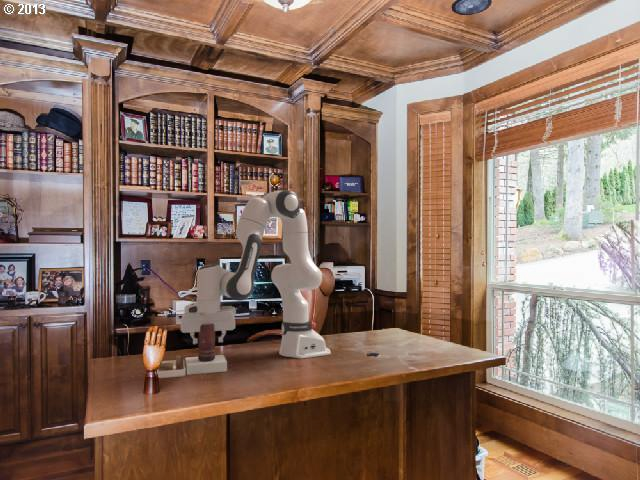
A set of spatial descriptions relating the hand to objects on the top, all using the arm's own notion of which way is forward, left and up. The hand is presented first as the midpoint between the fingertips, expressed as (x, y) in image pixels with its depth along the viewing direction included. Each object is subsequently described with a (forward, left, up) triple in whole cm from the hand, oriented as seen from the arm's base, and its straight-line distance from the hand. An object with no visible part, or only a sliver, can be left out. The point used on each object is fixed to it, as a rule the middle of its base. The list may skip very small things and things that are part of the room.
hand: (208, 342), depth 169 cm
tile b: (+15, 0, -7) cm, 17 cm away
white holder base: (+1, 0, -10) cm, 10 cm away
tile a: (+9, 0, -7) cm, 11 cm away
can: (0, 0, -7) cm, 7 cm away
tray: (+14, 0, -10) cm, 17 cm away
